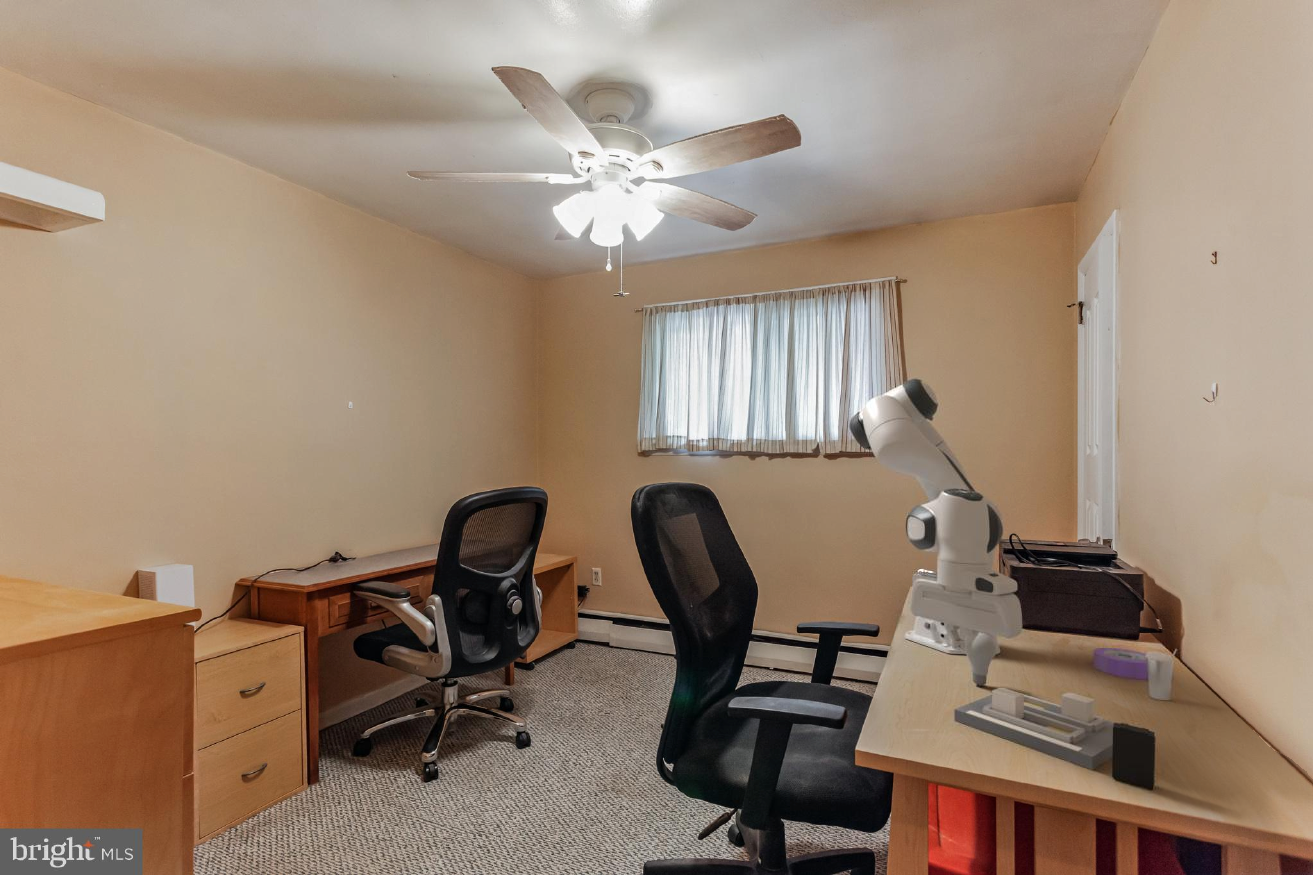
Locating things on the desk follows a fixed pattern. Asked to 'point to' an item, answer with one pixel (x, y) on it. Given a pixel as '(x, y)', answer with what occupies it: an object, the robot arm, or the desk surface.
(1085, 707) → the switch tab
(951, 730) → the desk surface
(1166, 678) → the milkshake
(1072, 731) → the switch panel
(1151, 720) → the desk surface
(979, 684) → the lightbulb
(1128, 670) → the masking tape
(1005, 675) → the desk surface
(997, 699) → the switch tab
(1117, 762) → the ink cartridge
